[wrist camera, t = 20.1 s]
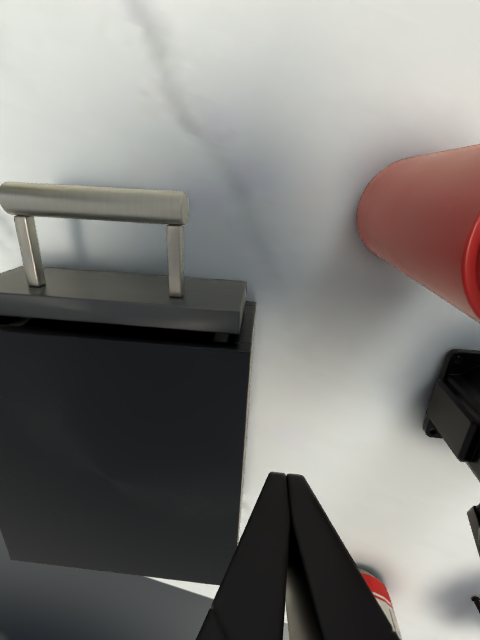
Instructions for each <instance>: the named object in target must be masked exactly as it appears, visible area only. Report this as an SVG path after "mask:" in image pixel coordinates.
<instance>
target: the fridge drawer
mask: <svg viewBox="0 0 480 640" xmlns="http://www.w3.org/2000/svg"><path fill="white" fill-rule="evenodd" d="M0 205H1V206H2V208H3V209H4V211H6V212H7V213H8V214H11V215H17V216H14V221H15V226H16V231H17V235H18V240H19V245H20V250H21V255H22V260H23V264H24V266H21V267H18V268H15V269H12V270H9V271H6V272H3V273H0V316H8V317H20V318H18V319H17V320H15V321H13V322H11V323H9V324H7V325H18V326H30V327H43V328H55V329H68V330H80V331H92V332H105V333H117V334H130V335H142V336H155V337H167V338H180V339H192V340H204V341H217V342H229V343H232V334H239V332H240V327H241V322H242V317H243V312H244V307H245V302H246V289H247V282H246V281H233V280H219V279H204V278H190V277H184V270H183V226H182V225H186V224H187V221H188V216H189V201H188V196H187V193H186V192H184V191H166V190H148V189H130V188H111V187H93V186H75V185H57V184H38V183H20V182H5V183H3V184H1V186H0ZM34 216H37V217H53V218H70V219H86V220H103V221H119V222H136V223H152V224H169V225H167V250H168V276H161V275H147V274H132V273H118V272H104V271H89V270H75V269H61V268H46V267H43V264H42V259H41V253H40V248H39V242H38V237H37V232H36V226H35V221H34Z"/></svg>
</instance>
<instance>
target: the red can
mask: <svg viewBox="0 0 480 640" xmlns="http://www.w3.org/2000/svg"><path fill="white" fill-rule="evenodd" d="M357 226H358V231H359V234H360V237H361V239H362V241H363V242H364V244H365V246H366V247H367V248H368V249H369V250H370V251H371V252H373V253H374V254H375V255H377V256H378V257H380V258H381V259H383V260H384V261H386V262H387V263H389V264H390V265H392V266H393V267H395V268H397V269H398V270H400V271H401V272H403V273H404V274H406V275H407V276H409V277H410V278H412V279H413V280H415V281H416V282H418V283H419V284H421V285H422V286H424V287H425V288H427V289H428V290H430V291H432V292H433V293H435V294H436V295H438V296H439V297H441V298H442V299H444V300H445V301H447V302H448V303H450V304H451V305H453V306H454V307H456V308H457V309H459V310H460V311H462V312H463V313H465V314H467V315H468V316H470V317H471V318H473V319H474V320H476V321H477V322H479V323H480V144H477V145H472V146H467V147H462V148H457V149H452V150H446V151H441V152H436V153H431V154H426V155H420V156H415V157H410V158H405V159H402V160H399V161H397V162H394V163H392V164H391V165H389V166H387V167H386V168H384V169H383V170H382V171H380V172H379V173H378V174H377V175H376V176H375V177H374V178H373V179H372V180H371V182H370V183H369V184H368V186H367V187H366V189H365V190H364V192H363V194H362V196H361V199H360V202H359V206H358V210H357Z"/></svg>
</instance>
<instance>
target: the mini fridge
mask: <svg viewBox="0 0 480 640" xmlns="http://www.w3.org/2000/svg"><path fill="white" fill-rule="evenodd" d="M255 312H256V302H249V301H246V302H245V307H244V312H243V317H242V322H241V327H240V332H239V334H232V343H229V342H217V341H204V340H192V339H180V338H167V337H155V336H142V335H130V334H117V333H105V332H92V331H80V330H68V329H55V328H43V327H30V326H18V325H7V324H9V323H11V322H13V321H15V320H17V319H18V318H20V317H8V316H0V529H1V532H2V535H3V538H4V541H5V544H6V547H7V550H8V553H9V556H10V559H11V560H17V561H25V562H33V563H41V564H51V565H58V566H66V567H74V568H82V569H91V570H99V571H107V572H115V573H123V574H131V575H139V576H147V577H156V578H164V579H172V580H180V581H188V582H196V583H205V584H213V585H220V584H221V582H222V580H223V578H224V575H225V573H226V571H227V568H228V566H229V564H230V562H231V559H232V557H233V555H234V552H235V550H236V548H237V546H238V541H239V529H240V517H241V506H242V494H243V480H244V466H245V452H246V438H247V424H248V410H249V396H250V382H251V368H252V354H253V340H254V326H255Z"/></svg>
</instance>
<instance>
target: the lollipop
mask: <svg viewBox="0 0 480 640" xmlns="http://www.w3.org/2000/svg"><path fill="white" fill-rule="evenodd" d="M479 600H480V598H479V597H473V598H472V601H474V603H475V605H476V607H477V609H478V611H479V613H480V601H479Z"/></svg>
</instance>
